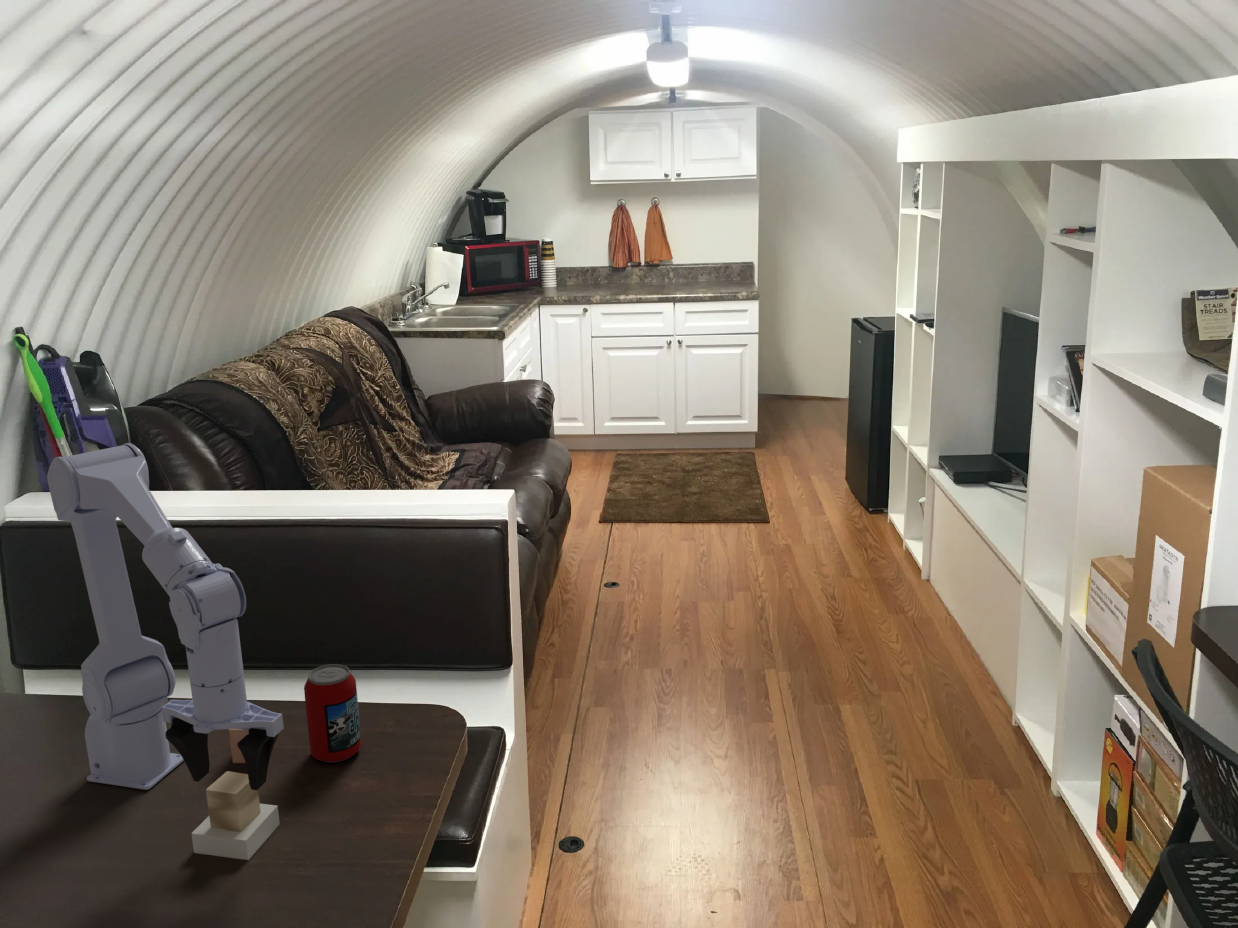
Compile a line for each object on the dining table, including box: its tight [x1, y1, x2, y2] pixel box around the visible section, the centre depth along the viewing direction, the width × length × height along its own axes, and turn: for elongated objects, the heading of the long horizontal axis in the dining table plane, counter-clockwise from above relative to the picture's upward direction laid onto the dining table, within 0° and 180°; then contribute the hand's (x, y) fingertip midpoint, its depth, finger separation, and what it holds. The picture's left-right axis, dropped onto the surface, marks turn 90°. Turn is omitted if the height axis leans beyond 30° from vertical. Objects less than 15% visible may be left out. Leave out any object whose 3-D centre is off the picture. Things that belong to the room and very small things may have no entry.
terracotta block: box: [228, 729, 249, 764], centre depth 141 cm, size 4×4×5 cm
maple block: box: [205, 770, 261, 832], centre depth 122 cm, size 4×4×5 cm
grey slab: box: [191, 803, 281, 861], centre depth 124 cm, size 7×7×3 cm
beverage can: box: [303, 663, 362, 764], centre depth 140 cm, size 7×7×12 cm
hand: (230, 780), depth 122 cm, fingers open, 7 cm apart
